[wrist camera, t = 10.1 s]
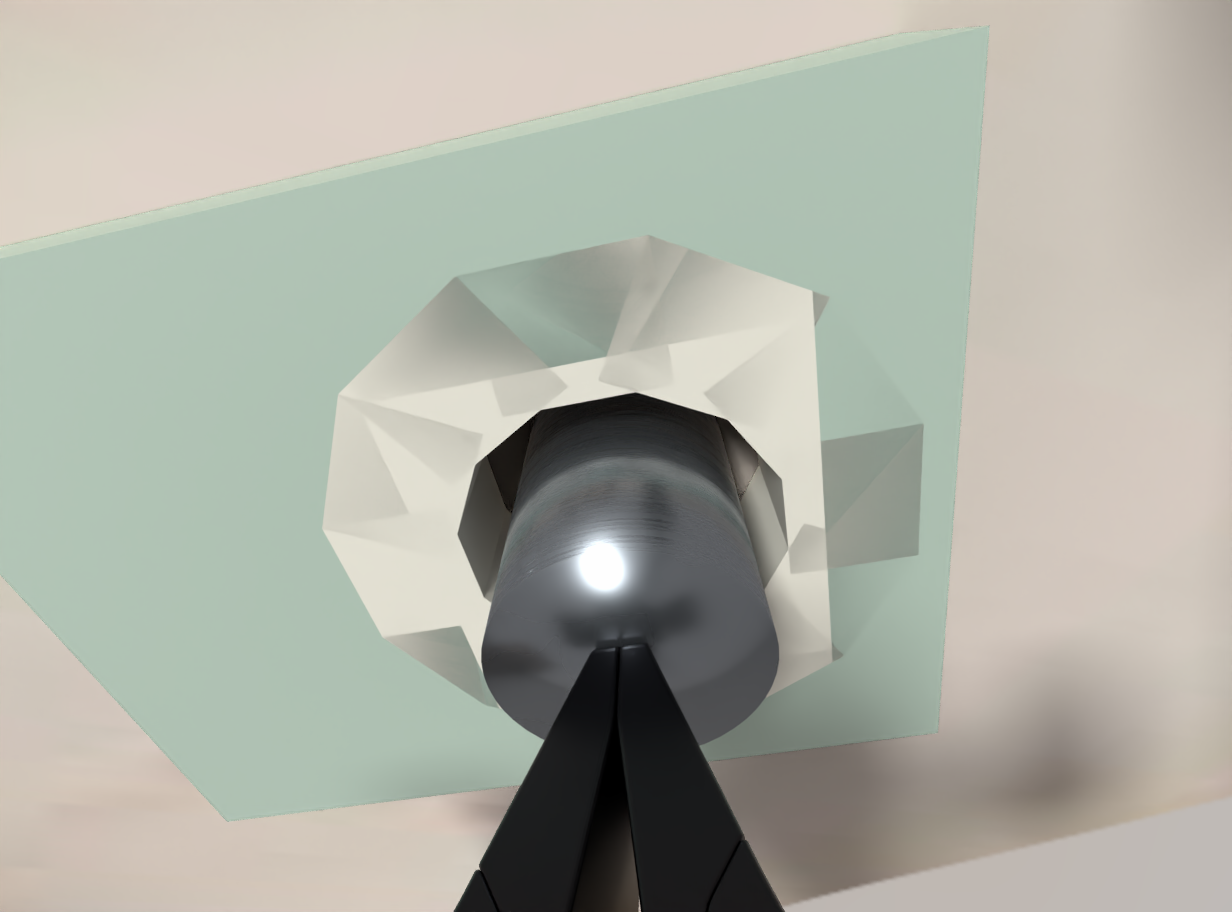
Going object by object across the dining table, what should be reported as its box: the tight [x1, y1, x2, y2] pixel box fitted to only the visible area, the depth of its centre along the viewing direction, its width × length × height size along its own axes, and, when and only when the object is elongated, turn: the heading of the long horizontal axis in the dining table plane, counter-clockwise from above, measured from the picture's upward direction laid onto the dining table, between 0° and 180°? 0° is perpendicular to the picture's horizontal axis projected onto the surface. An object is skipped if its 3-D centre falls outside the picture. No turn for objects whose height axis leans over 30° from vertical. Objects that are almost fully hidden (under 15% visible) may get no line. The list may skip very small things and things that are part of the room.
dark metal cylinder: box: [481, 392, 779, 746], centre depth 12 cm, size 4×4×6 cm
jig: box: [0, 26, 989, 822], centre depth 14 cm, size 18×14×3 cm
